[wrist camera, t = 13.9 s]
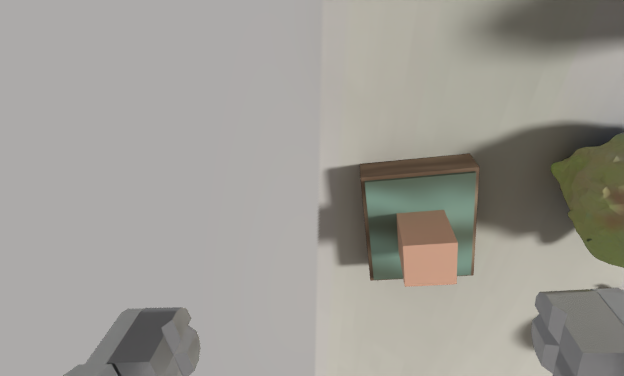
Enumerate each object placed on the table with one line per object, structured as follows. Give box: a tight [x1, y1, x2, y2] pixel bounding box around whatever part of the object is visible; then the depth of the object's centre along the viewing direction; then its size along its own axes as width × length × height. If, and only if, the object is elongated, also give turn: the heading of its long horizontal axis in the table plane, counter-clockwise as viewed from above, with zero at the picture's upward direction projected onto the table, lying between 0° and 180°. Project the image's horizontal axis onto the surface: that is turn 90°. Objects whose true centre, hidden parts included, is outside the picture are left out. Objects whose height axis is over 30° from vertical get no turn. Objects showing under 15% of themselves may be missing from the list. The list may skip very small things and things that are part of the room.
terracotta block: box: [396, 210, 458, 287], centre depth 40 cm, size 5×5×6 cm
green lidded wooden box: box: [360, 154, 479, 280], centre depth 44 cm, size 14×12×4 cm
